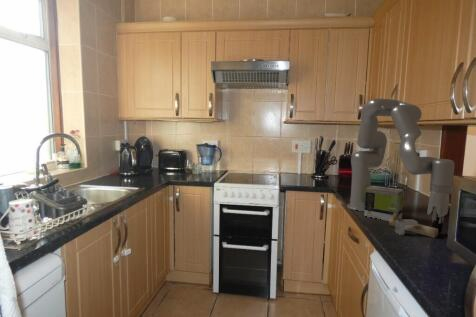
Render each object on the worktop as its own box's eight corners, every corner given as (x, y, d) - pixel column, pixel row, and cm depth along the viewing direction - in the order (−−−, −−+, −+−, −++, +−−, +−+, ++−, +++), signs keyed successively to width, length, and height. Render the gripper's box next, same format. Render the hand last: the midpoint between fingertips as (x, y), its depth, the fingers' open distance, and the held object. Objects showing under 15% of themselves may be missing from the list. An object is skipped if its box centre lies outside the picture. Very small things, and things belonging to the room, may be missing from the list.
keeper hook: (394, 232, 123) (395, 219, 122) (411, 232, 123) (413, 219, 123) (399, 235, 120) (400, 221, 119) (416, 234, 121) (417, 221, 120)
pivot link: (387, 225, 131) (387, 212, 130) (392, 223, 134) (392, 210, 134) (433, 238, 117) (435, 224, 116) (438, 235, 120) (439, 221, 119)
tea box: (402, 218, 141) (404, 189, 140) (396, 223, 134) (399, 192, 132) (370, 212, 151) (371, 184, 150) (363, 216, 144) (365, 187, 142)
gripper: (436, 185, 127) (433, 225, 129) (423, 189, 118) (419, 232, 120) (457, 188, 121) (453, 230, 123) (445, 193, 112) (440, 238, 114)
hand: (436, 231), depth 121 cm, fingers closed
